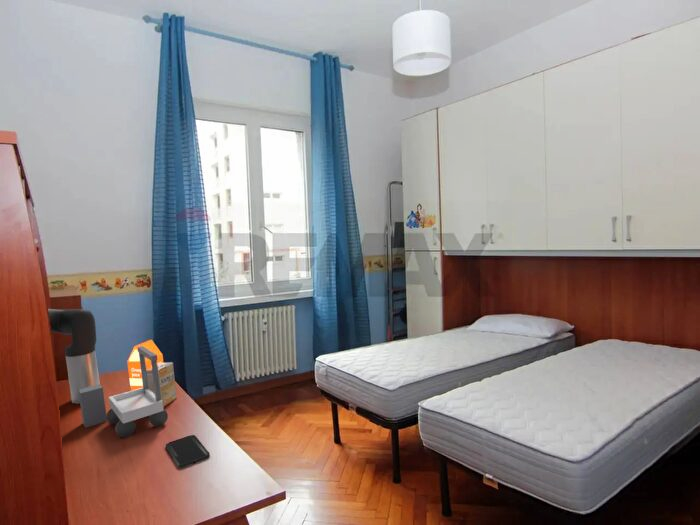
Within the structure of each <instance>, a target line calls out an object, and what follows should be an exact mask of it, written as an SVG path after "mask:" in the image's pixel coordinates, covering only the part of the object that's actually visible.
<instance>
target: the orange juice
mask: <svg viewBox="0 0 700 525" xmlns="http://www.w3.org/2000/svg"><path fill="white" fill-rule="evenodd" d="M140 346H144V347H145V348H147V349H148V350H150V351H152V352H153V353H155V354H156V355H157V359H158V360H157V365H158V364H160V363H164V356H163V353H162V352H161V351H160V349H159V347H158V346H157V345H156V344H155V343H154V341H153V340H152V339H149V340H146V341H145V342H141V343H139V344H137V345H134V347H133V349H132V351H131V353H130V355H129V357H128V359H127V370H128V377H129V378H128V379H129V385H130V391H132V390H135V389H139V388H143V382H142V374H141V366H140V358H139V352H138V348H137V347H140ZM145 362H146V370H148V369H150V368H152V365H151V361H150V360H149V359H147V358H146V357H145Z"/></svg>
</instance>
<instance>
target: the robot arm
mask: <svg viewBox="0 0 700 525" xmlns="http://www.w3.org/2000/svg"><path fill="white" fill-rule="evenodd" d="M48 312H49V318H50V325H51V331H50V332H52V333H53V332H54V333H56V334H57V333H58V334H61V335H66V336H71V344H70V345H67V346H66V347H65V348H64V353H65V354H64V355H65V360H66V362H65V363H66V368H67V377H68V383H69V390H70V391H69V392H70V397H71V403H72V404H74V403H75V404H76V405H79V404H80V398H79V391H78V390H79V389H83V388H87V387H91V386H95V385H98V384H100V385H101V383H100V375H99V369H98V362H97V352H96V343H97V331H96V330H97V329H96V328H97V327H96V320H95V316H94V314H93V312H91V310H89V309H86V308H67V309H55V308H48ZM75 404H74V405H75Z"/></svg>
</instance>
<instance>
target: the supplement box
mask: <svg viewBox="0 0 700 525" xmlns="http://www.w3.org/2000/svg"><path fill="white" fill-rule="evenodd" d="M174 371H175V370H174V362H163V363H160V364H158V374H159V382H160V390H161V398H162V402H163V408H164V407H166V406H167V405H168V404H170V403H171V402H172V401H174V400H177V390H176V381H175V380H176V379H175V372H174ZM147 378H148V386H149V390H150V391H152V392H153V393H154V394H155V390H154V382H153V374H152V368H150V369H148V370H147Z"/></svg>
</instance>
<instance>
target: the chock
mask: <svg viewBox="0 0 700 525" xmlns="http://www.w3.org/2000/svg"><path fill="white" fill-rule="evenodd" d="M78 391H79V398H80V411H81V419H82V425H83V426H84V428H89V427H92V426H96V425H100V424H102V423H105V422H107V421H108V419H107V409H106V403H105V402H106V401H105V394H104V387H103V386H102V385H101V383H100V384H98V385H95V386H91V387H87V388H83V389H79V390H78Z"/></svg>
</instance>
